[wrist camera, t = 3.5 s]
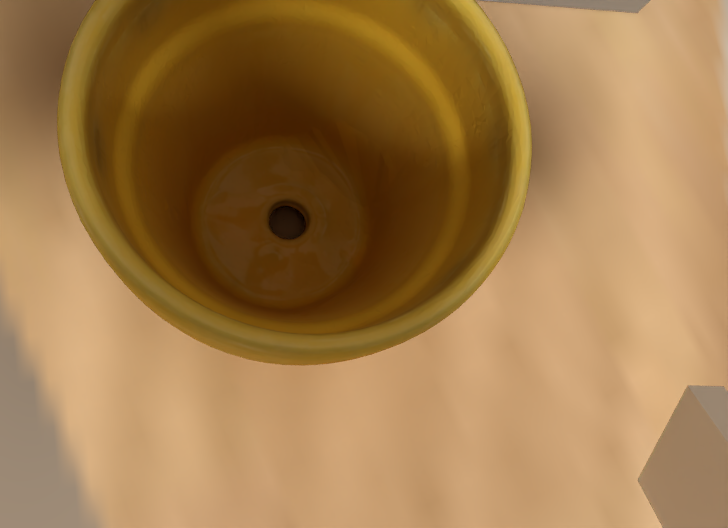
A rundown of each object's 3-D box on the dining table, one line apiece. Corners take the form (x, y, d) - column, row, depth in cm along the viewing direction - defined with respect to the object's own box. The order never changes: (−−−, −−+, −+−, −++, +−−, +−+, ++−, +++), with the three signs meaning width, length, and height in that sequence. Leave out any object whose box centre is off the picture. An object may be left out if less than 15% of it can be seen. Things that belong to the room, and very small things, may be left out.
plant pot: (400, 78, 26) (491, -104, 17) (448, 350, 24) (580, 322, 15) (114, 99, 24) (31, -94, 15) (145, 398, 22) (75, 399, 13)
